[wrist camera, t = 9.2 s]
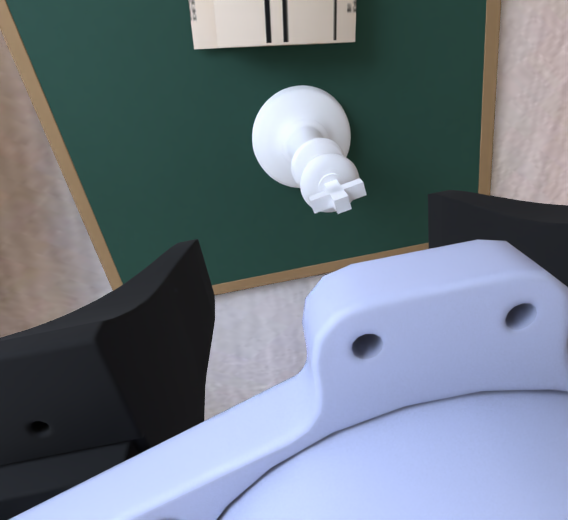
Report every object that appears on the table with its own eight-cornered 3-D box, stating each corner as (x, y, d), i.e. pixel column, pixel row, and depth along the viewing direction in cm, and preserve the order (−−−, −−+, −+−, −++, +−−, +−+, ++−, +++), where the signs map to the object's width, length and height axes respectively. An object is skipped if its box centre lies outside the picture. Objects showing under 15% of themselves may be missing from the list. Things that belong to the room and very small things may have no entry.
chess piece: (237, 106, 20) (232, 154, 11) (334, 69, 20) (408, 89, 11) (271, 198, 22) (290, 298, 14) (359, 166, 22) (438, 247, 13)
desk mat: (484, 238, 25) (487, 241, 25) (124, 309, 25) (122, 313, 25) (503, -130, 17) (509, -134, 17) (-19, -26, 17) (-25, -28, 17)
